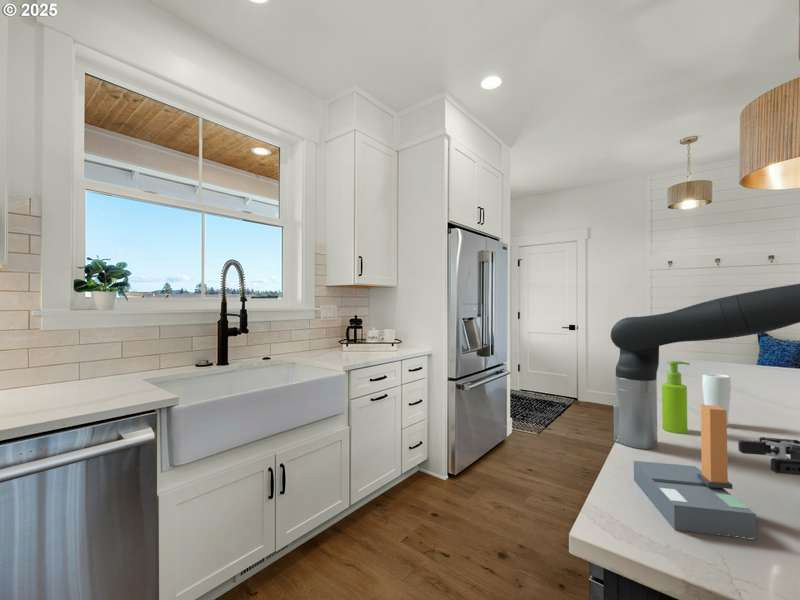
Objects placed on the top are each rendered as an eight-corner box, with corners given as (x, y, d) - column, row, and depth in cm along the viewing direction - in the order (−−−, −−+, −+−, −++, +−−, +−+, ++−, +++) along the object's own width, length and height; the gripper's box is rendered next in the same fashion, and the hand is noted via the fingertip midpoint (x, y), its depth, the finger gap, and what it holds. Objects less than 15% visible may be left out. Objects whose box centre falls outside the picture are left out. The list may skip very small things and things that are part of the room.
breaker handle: (720, 479, 69) (719, 405, 69) (732, 489, 65) (731, 410, 66) (697, 477, 70) (696, 404, 70) (708, 486, 66) (707, 409, 67)
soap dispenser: (696, 433, 107) (695, 362, 108) (671, 433, 107) (670, 362, 108) (681, 427, 113) (680, 360, 113) (657, 426, 113) (657, 359, 114)
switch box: (695, 486, 76) (694, 465, 76) (755, 539, 59) (755, 513, 59) (633, 480, 79) (633, 460, 79) (674, 529, 61) (674, 504, 61)
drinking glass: (702, 419, 120) (702, 372, 121) (730, 424, 116) (730, 374, 116) (702, 425, 115) (701, 375, 115) (731, 429, 111) (731, 378, 111)
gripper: (834, 428, 69) (729, 421, 73) (919, 458, 55) (784, 448, 59) (835, 469, 69) (730, 460, 73) (920, 509, 55) (785, 496, 59)
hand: (754, 455), depth 66 cm, fingers open, 8 cm apart
